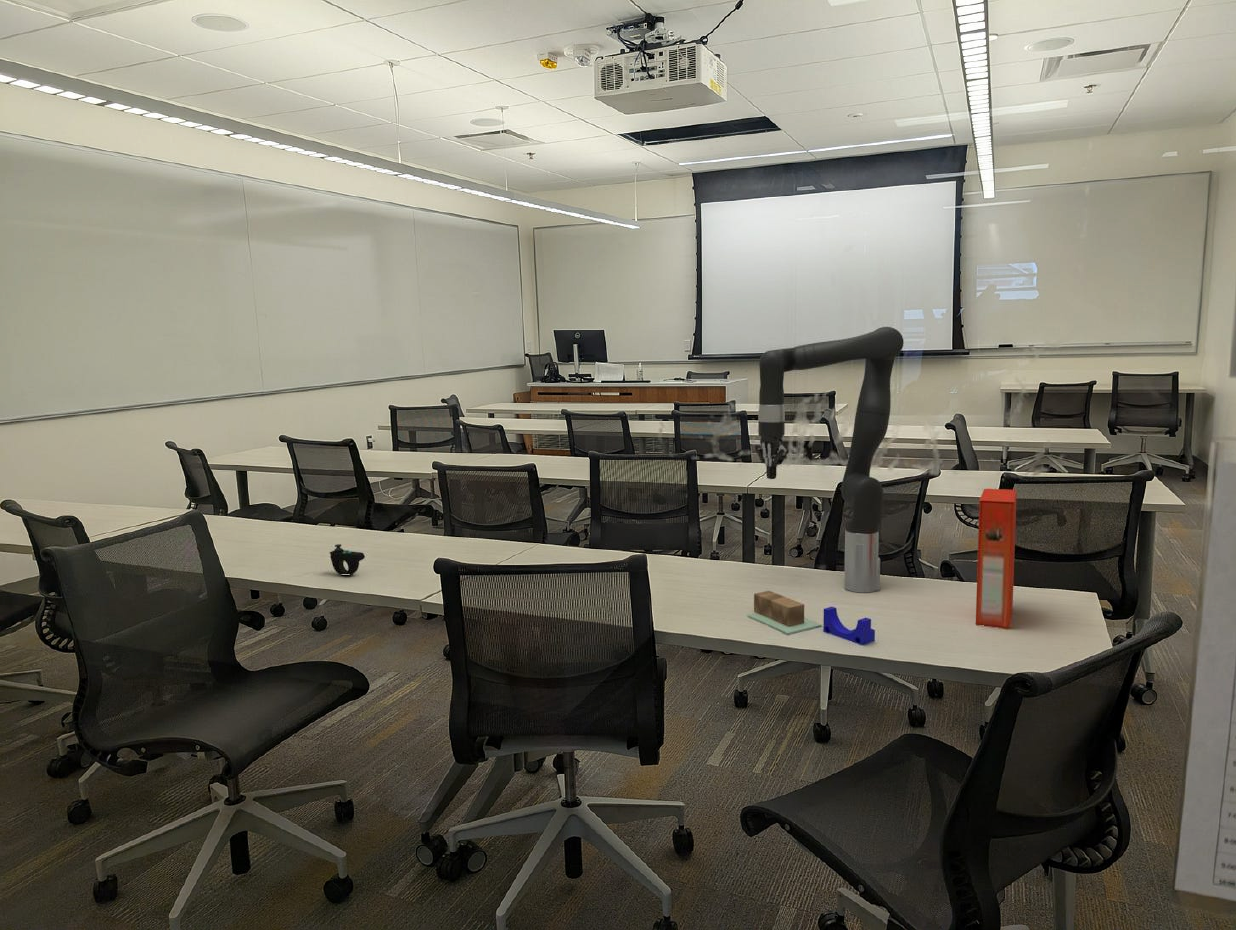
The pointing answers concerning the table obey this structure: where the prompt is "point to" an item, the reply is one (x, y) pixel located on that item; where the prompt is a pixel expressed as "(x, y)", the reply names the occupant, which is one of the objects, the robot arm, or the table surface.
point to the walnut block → (779, 608)
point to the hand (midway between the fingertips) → (771, 478)
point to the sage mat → (783, 628)
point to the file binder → (996, 557)
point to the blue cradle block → (858, 635)
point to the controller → (345, 555)
